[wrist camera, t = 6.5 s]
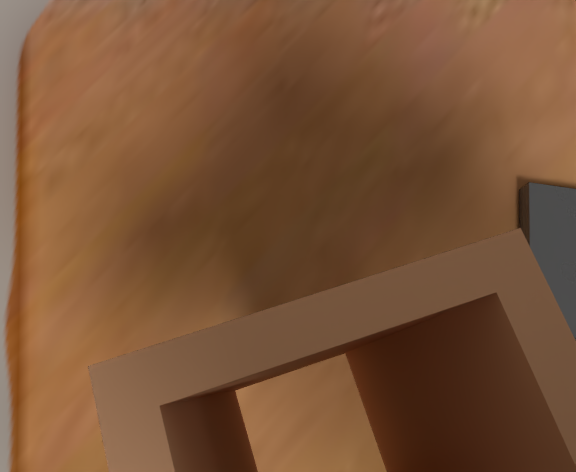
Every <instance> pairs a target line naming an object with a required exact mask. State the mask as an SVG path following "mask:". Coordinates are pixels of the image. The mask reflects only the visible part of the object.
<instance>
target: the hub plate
mask: <svg viewBox="0 0 576 472" xmlns="http://www.w3.org/2000/svg"><path fill="white" fill-rule="evenodd" d="M519 219H520V228H521V230H522V232H523V234H524V236H525V238H526V240H527V242H528V244H529V246H530V248H531V250H532V252H533V254H534V256H535V258H536V260H537V262H538V264H539V267H540V269H541V271H542V273H543V275H544V277H545V279H546V281H547V283H548V285H549V287H550V289H551V291H552V293H553V295H554V297H555V299H556V301H557V303H558V305H559V307H560V310H561V312H562V314H563V316H564V318H565V320H566V322H567V324H568V326H569V328H570V330H571V332H572V334H573V336H574V338H575V340H576V189H572V188H565V187H558V186H551V185H544V184H537V183H530V182H529V183H528V184H526V185H525V186H524V187H522V188H521V189H520V190H519Z"/></svg>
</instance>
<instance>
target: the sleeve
mask: <svg viewBox="0 0 576 472" xmlns="http://www.w3.org/2000/svg"><path fill="white" fill-rule="evenodd" d="M344 353H346V356H347V359H348V362H349V365H350V368H351V371H352V373H353V376H354V379H355V382H356V385H357V388H358V390H359V393H360V396H361V399H362V402H363V405H364V408H365V410H366V413H367V416H368V419H369V422H370V425H371V427H372V430H373V433H374V436H375V439H376V442H377V445H378V447H379V450H380V453H381V456H382V459H383V462H384V465H385V467H386V470H387V472H576V340H575V338H574V336H573V334H572V332H571V330H570V328H569V326H568V324H567V322H566V320H565V318H564V316H563V314H562V312H561V310H560V307H559V305H558V303H557V301H556V299H555V297H554V295H553V293H552V291H551V289H550V287H549V285H548V283H547V281H546V279H545V277H544V275H543V273H542V271H541V269H540V267H539V264H538V262H537V260H536V258H535V256H534V254H533V252H532V250H531V248H530V246H529V244H528V242H527V240H526V238H525V236H524V234H523V232H522V230H521V228H518V229H515V230H512V231H509V232H506V233H503V234H500V235H497V236H493V237H490V238H487V239H484V240H481V241H478V242H475V243H472V244H468V245H465V246H462V247H459V248H456V249H453V250H450V251H447V252H443V253H440V254H437V255H434V256H431V257H428V258H425V259H422V260H418V261H415V262H412V263H409V264H406V265H403V266H400V267H397V268H393V269H390V270H387V271H384V272H381V273H378V274H375V275H372V276H368V277H365V278H362V279H359V280H356V281H353V282H350V283H347V284H343V285H340V286H337V287H334V288H331V289H328V290H325V291H322V292H318V293H315V294H312V295H309V296H306V297H303V298H300V299H297V300H293V301H290V302H287V303H284V304H281V305H278V306H275V307H272V308H268V309H265V310H262V311H259V312H256V313H253V314H250V315H247V316H243V317H240V318H237V319H234V320H231V321H228V322H225V323H222V324H218V325H215V326H212V327H209V328H206V329H203V330H200V331H197V332H193V333H190V334H187V335H184V336H181V337H178V338H175V339H172V340H168V341H165V342H162V343H159V344H156V345H153V346H150V347H147V348H143V349H140V350H137V351H134V352H131V353H128V354H125V355H122V356H118V357H115V358H112V359H109V360H106V361H103V362H100V363H97V364H93V365H90V366H88V369H89V374H90V379H91V384H92V389H93V394H94V399H95V404H96V409H97V414H98V419H99V424H100V429H101V434H102V439H103V444H104V449H105V454H106V459H107V464H108V469H109V472H258V471H257V467H256V464H255V460H254V456H253V453H252V449H251V446H250V442H249V439H248V435H247V431H246V428H245V424H244V421H243V417H242V414H241V410H240V407H239V403H238V399H237V396H236V392H235V390H238V389H241V388H244V387H247V386H250V385H252V384H255V383H258V382H261V381H264V380H267V379H270V378H273V377H276V376H279V375H282V374H285V373H288V372H291V371H294V370H297V369H300V368H303V367H305V366H308V365H311V364H314V363H317V362H320V361H323V360H326V359H329V358H332V357H335V356H338V355H341V354H344Z"/></svg>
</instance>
